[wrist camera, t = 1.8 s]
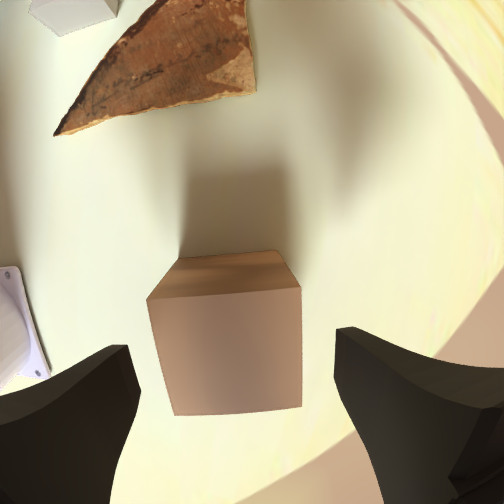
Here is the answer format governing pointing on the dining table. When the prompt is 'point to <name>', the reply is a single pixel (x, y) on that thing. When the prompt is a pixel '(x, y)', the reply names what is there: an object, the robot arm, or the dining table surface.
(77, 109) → the shard
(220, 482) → the dining table surface
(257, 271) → the walnut block
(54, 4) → the light-grey block
